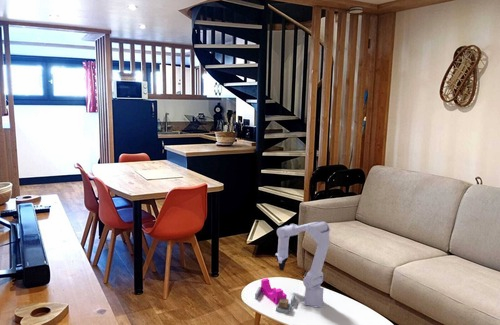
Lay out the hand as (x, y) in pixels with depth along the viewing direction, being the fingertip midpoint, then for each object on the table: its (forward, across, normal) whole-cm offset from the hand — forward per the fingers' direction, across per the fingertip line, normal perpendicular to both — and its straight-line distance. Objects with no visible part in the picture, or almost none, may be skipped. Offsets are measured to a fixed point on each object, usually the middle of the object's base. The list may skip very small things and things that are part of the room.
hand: (281, 270), depth 222 cm
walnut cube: (+9, +23, +6) cm, 26 cm away
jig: (+9, +19, 0) cm, 21 cm away
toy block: (+10, +14, -1) cm, 17 cm away
